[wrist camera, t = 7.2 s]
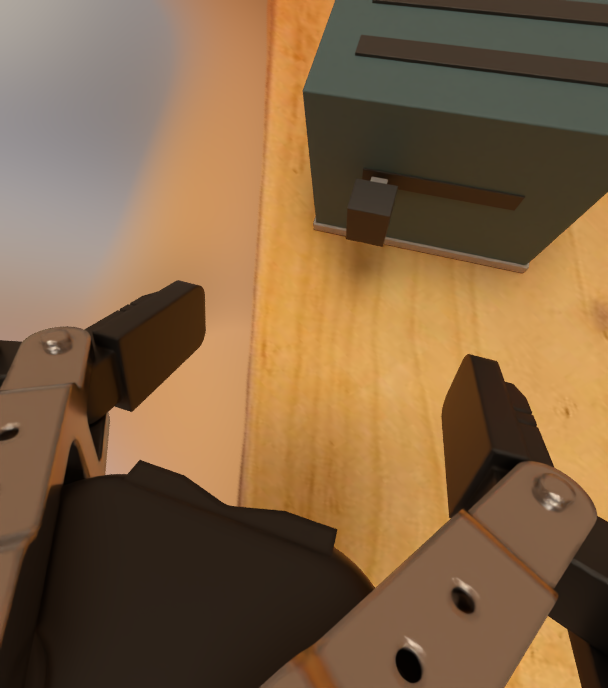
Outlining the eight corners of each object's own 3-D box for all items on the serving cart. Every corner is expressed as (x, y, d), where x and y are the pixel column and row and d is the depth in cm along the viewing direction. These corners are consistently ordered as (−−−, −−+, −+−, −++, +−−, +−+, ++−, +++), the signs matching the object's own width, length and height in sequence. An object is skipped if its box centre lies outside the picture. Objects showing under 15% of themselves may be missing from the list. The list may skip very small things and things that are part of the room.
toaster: (523, 273, 26) (672, 144, 15) (313, 229, 29) (296, 90, 17) (542, 159, 29) (684, -32, 17) (345, 128, 31) (350, -58, 19)
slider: (382, 247, 22) (390, 216, 19) (345, 239, 22) (346, 208, 19) (394, 203, 23) (403, 167, 20) (358, 196, 23) (361, 160, 20)
